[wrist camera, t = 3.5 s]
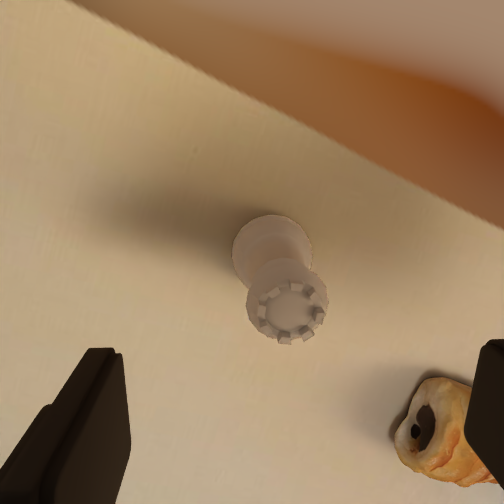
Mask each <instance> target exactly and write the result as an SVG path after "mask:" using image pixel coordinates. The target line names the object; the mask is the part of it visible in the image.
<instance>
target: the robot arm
mask: <svg viewBox="0 0 504 504" xmlns="http://www.w3.org/2000/svg"><path fill="white" fill-rule="evenodd" d="M464 436H465V439H466V441H467V443H468V444H469V446H470V447H471V448H472V450H473V451H474V452H475V453H476V455H477V456H478V457H479V459H480V460H481V461H482V462H483V464H484V465H485V466H486V468H487V469H488V470H489V472H490V473H491V474H492V475H493V477H494V478H495V479H496V481H497V482H498V483H499V484H500V486H501V487H502V488H503V490H504V339H491V340H489V341H488V342H487V343H486V345H484V346H483V347H482V348H481V350H480V354H479V359H478V364H477V368H476V373H475V377H474V382H473V387H472V391H471V396H470V401H469V405H468V410H467V415H466V419H465V424H464ZM130 451H131V434H130V424H129V414H128V404H127V394H126V385H125V375H124V365H123V357H122V354H121V353H115V350H114V348H89V349H88V350H87V351H86V353H85V354H84V356H83V357H82V359H81V360H80V362H79V363H78V365H77V366H76V368H75V369H74V371H73V373H72V374H71V376H70V377H69V379H68V380H67V382H66V383H65V385H64V386H63V388H62V389H61V391H60V392H59V394H58V395H57V397H56V399H55V400H54V402H53V403H52V404H48V405H46V406H44V407H43V408H42V409H41V410H40V412H39V413H38V415H37V416H36V418H35V419H34V421H33V422H32V423H31V425H30V426H29V428H28V429H27V431H26V432H25V434H24V435H23V437H22V438H21V440H20V441H19V443H18V444H17V446H16V447H15V448H14V450H13V451H12V453H11V454H10V456H9V457H8V459H7V460H6V462H5V463H4V465H3V466H2V468H1V469H0V504H115V502H116V499H117V495H118V492H119V489H120V486H121V482H122V479H123V476H124V473H125V469H126V466H127V463H128V459H129V456H130Z"/></svg>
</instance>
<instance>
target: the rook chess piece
mask: <svg viewBox="0 0 504 504" xmlns="http://www.w3.org/2000/svg"><path fill="white" fill-rule="evenodd" d="M231 256H232V260H233V264H234V268H235V271H236V275H237V276H238V278H239V279H240V280H241V281H242V283H243V284H244V285H245V286H246V287H247V288H248V289H249V291H248V296H247V301H246V309H247V312H248V316H249V320H250V321H251V322H252V324H253V325H254V326H255V327H256V329H257V330H258V331H259V332H261V333H263V334H264V335H266V336H267V337H270V338H272V339H278V343H280V344H288V345H291V340H292V339H296V338H301V337H302V339H303V341H306V340H308V339H309V338H311V337H312V336H314V332H313V330H314V329H316V328H317V327H318V325H319V324H321V325H322V323H323V319H324V317H325V315H326V311H327V307H328V302H329V300H328V295H327V290H326V286H325V285H324V283H323V282H322V281H321V279H320V278H319V276H318V275H317V274H315V273H314V272H312V271H310V269H311V264H312V259H313V254H312V249H311V243H310V241H309V238H308V236H307V235H306V233H305V232H304V230H303V229H302V227H301V226H300V225H299V224H298V223H296V222H294V221H293V220H291V219H289V218H288V217H285V216H278V215H272V214H270V215H266V216H262V217H257V218H254V219H253V220H252V221H250V222H249V223H247V224H246V225H245V226H243V227H242V228H241V230H240V231H239V233H238V235H237V236H236V238H235V239H234V242H233V248H232V255H231Z"/></svg>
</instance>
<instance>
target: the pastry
mask: <svg viewBox="0 0 504 504" xmlns="http://www.w3.org/2000/svg"><path fill="white" fill-rule="evenodd" d="M471 391H472V388H471V387H470V386H468V385H467V386H466V385H464V384H461V383H459V382H457V381H454V380H452V379H449V378H445V377H441V378H429V379H427V380H425V381H424V382H423V383H422V384H421V385H420V387H419V389H418V390H417V392H416V394H415V395H414V397H413V399H412V402H411V405H410V407H409V412H408V415H407V417H406V418H405V420H404V421H403V422H402V423H401V425H400V426H399V428H398V430H397V431H396V433H395V449H396V451H397V454H398V456H399V458H400V460H401V461H402V463H403V464H404V465H406V466H408V467H409V468H411V469H412V470H413V471H414V472H417V473H420V472H421V473H423V474H425V475H426V476H428V477H429V478H432V479H436V480H440V481H444V482H453V483H455V484H457V485H459V486H461V487H469V486H470V485H472V484H475V483H485V482H490V483H495V484H499V483H498V482H497V481H496V479H495V478H494V477H493V475H492V474H491V473H490V472H489V470H488V469H487V468H486V466H485V465H484V464H483V462H482V461H481V460H480V459H479V457H478V456H477V455H476V453H475V452H474V451H473V450H472V448H471V447H470V446H469V444H468V443H467V441H466V439H465V436H464V424H465V419H466V415H467V410H468V405H469V401H470V396H471Z"/></svg>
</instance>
